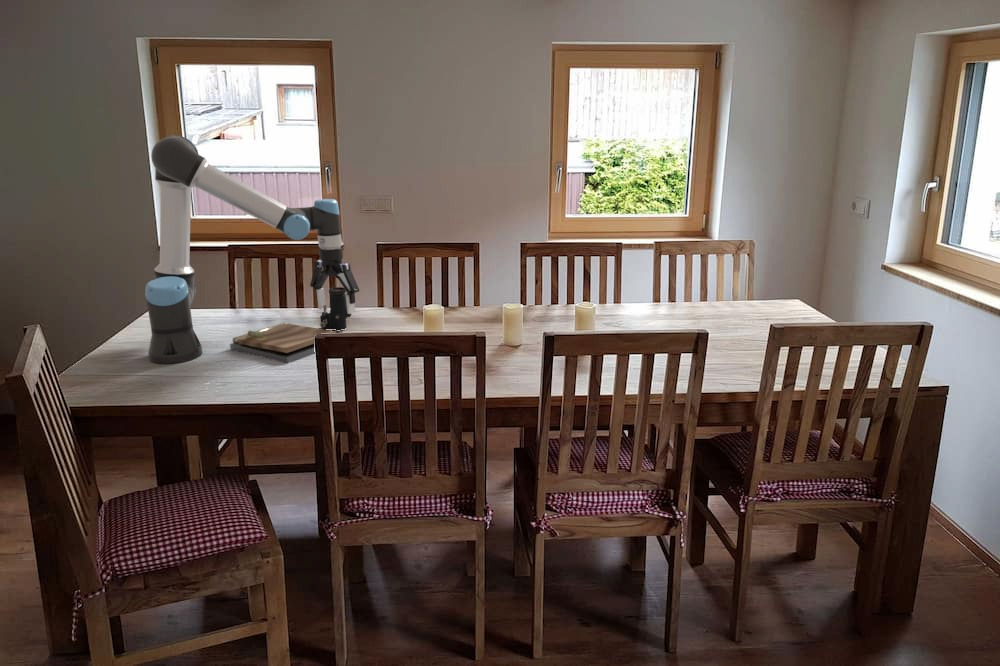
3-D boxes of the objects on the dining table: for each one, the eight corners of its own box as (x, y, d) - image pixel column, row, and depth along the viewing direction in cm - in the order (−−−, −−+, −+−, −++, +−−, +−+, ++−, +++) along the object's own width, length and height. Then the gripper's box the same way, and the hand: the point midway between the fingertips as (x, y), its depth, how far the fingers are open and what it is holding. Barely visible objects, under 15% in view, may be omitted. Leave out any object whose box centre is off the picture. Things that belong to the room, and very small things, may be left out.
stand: (230, 349, 248) (229, 338, 247) (285, 331, 265) (284, 321, 264) (287, 363, 234) (286, 351, 232) (341, 343, 251) (340, 332, 250)
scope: (320, 286, 266) (350, 285, 267) (324, 326, 270) (353, 325, 271) (316, 292, 259) (347, 291, 259) (320, 333, 263) (350, 332, 263)
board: (238, 343, 246) (237, 332, 245) (288, 328, 262) (287, 317, 261) (287, 353, 234) (285, 340, 233) (336, 335, 250) (335, 324, 249)
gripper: (295, 246, 263) (302, 308, 269) (350, 252, 249) (355, 317, 255) (312, 242, 268) (318, 303, 275) (366, 248, 255) (372, 312, 261)
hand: (336, 310), depth 265 cm, fingers open, 13 cm apart
